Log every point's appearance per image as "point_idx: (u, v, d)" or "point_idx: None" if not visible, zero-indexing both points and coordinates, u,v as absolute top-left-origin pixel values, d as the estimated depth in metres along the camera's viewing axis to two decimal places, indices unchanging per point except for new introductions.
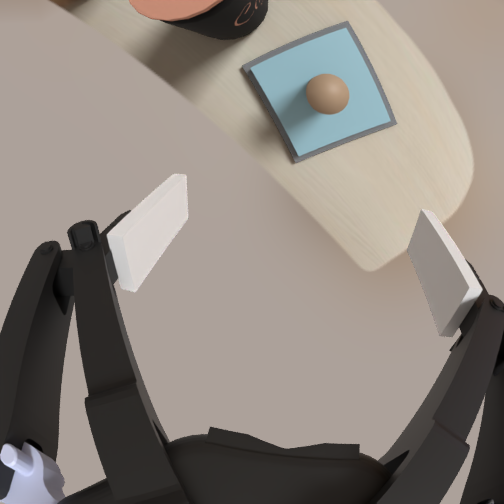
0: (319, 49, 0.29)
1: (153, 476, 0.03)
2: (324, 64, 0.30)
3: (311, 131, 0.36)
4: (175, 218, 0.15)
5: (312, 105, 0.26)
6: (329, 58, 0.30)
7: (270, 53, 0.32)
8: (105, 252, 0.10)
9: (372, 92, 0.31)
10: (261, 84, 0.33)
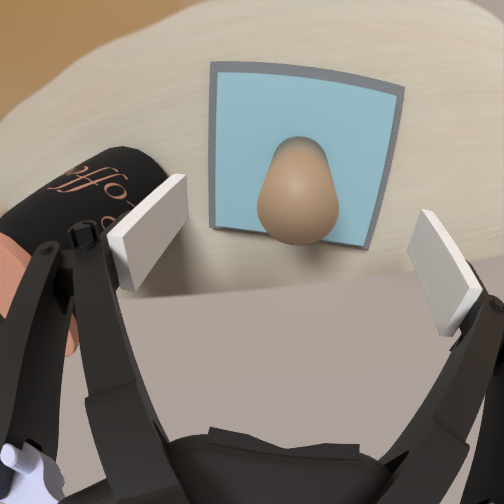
0: (235, 129, 0.22)
1: (153, 476, 0.03)
2: (262, 136, 0.22)
3: (344, 212, 0.24)
4: (175, 218, 0.15)
5: (301, 242, 0.16)
6: (256, 123, 0.21)
7: (211, 188, 0.26)
8: (105, 252, 0.10)
9: (340, 93, 0.19)
10: (245, 227, 0.27)
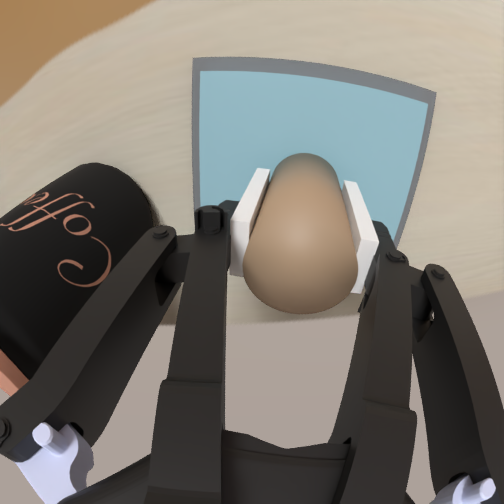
0: (223, 143, 0.17)
1: (153, 476, 0.03)
2: (257, 152, 0.17)
3: None
4: None
5: (304, 311, 0.12)
6: (250, 136, 0.17)
7: None
8: (226, 237, 0.11)
9: (358, 99, 0.14)
10: None
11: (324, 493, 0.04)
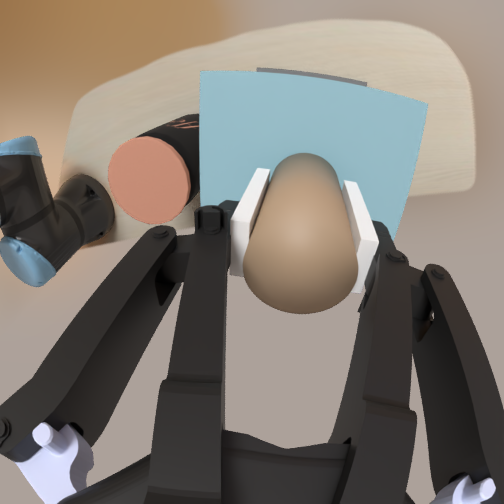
0: (223, 143, 0.17)
1: (153, 476, 0.03)
2: (257, 152, 0.17)
3: None
4: None
5: (304, 311, 0.12)
6: (250, 136, 0.17)
7: None
8: (226, 237, 0.11)
9: (358, 99, 0.14)
10: None
11: (324, 493, 0.04)
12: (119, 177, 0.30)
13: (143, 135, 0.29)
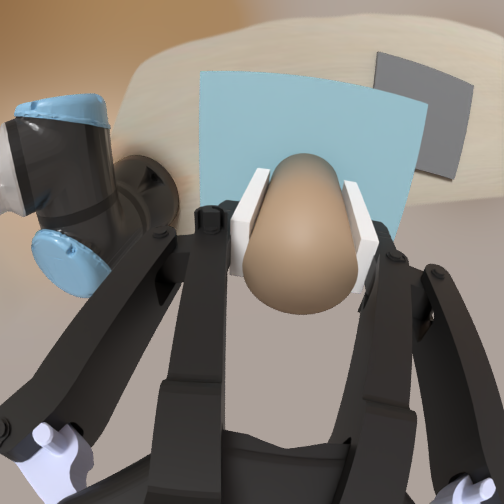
0: (223, 143, 0.17)
1: (153, 476, 0.03)
2: (257, 152, 0.17)
3: None
4: None
5: (304, 311, 0.12)
6: (250, 136, 0.17)
7: None
8: (226, 237, 0.11)
9: (358, 99, 0.14)
10: None
11: (324, 493, 0.04)
12: None
13: None
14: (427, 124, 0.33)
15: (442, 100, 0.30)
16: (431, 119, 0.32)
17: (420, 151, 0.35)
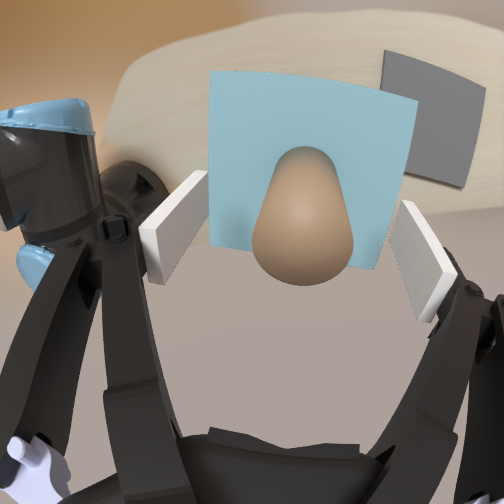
0: (230, 136, 0.19)
1: (153, 476, 0.03)
2: (262, 145, 0.19)
3: (355, 233, 0.21)
4: (198, 213, 0.15)
5: (306, 282, 0.13)
6: (255, 130, 0.18)
7: None
8: (136, 245, 0.11)
9: (354, 97, 0.16)
10: (242, 248, 0.24)
11: (355, 491, 0.04)
12: None
13: None
14: (437, 129, 0.30)
15: (453, 103, 0.27)
16: (441, 123, 0.29)
17: (429, 158, 0.33)
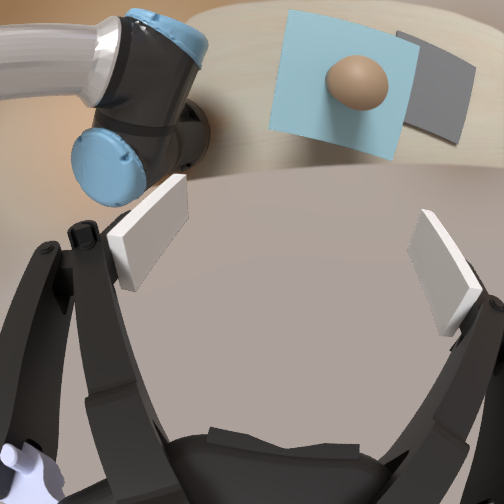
0: (297, 50, 0.24)
1: (153, 476, 0.03)
2: (318, 58, 0.24)
3: (378, 128, 0.26)
4: (175, 218, 0.15)
5: (361, 108, 0.18)
6: (315, 49, 0.23)
7: None
8: (105, 252, 0.10)
9: (379, 38, 0.21)
10: (294, 132, 0.29)
11: (365, 492, 0.04)
12: None
13: None
14: (436, 93, 0.36)
15: (449, 75, 0.33)
16: (439, 89, 0.35)
17: (429, 115, 0.38)
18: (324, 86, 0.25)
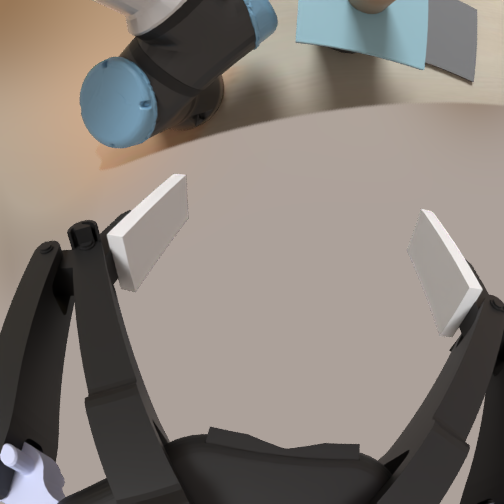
0: None
1: (153, 476, 0.03)
2: None
3: (405, 37, 0.20)
4: (175, 218, 0.15)
5: None
6: None
7: None
8: (105, 252, 0.10)
9: None
10: (323, 43, 0.23)
11: (365, 492, 0.04)
12: None
13: None
14: (445, 33, 0.29)
15: (454, 17, 0.26)
16: (447, 29, 0.28)
17: (442, 53, 0.31)
18: (346, 0, 0.19)
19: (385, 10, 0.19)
